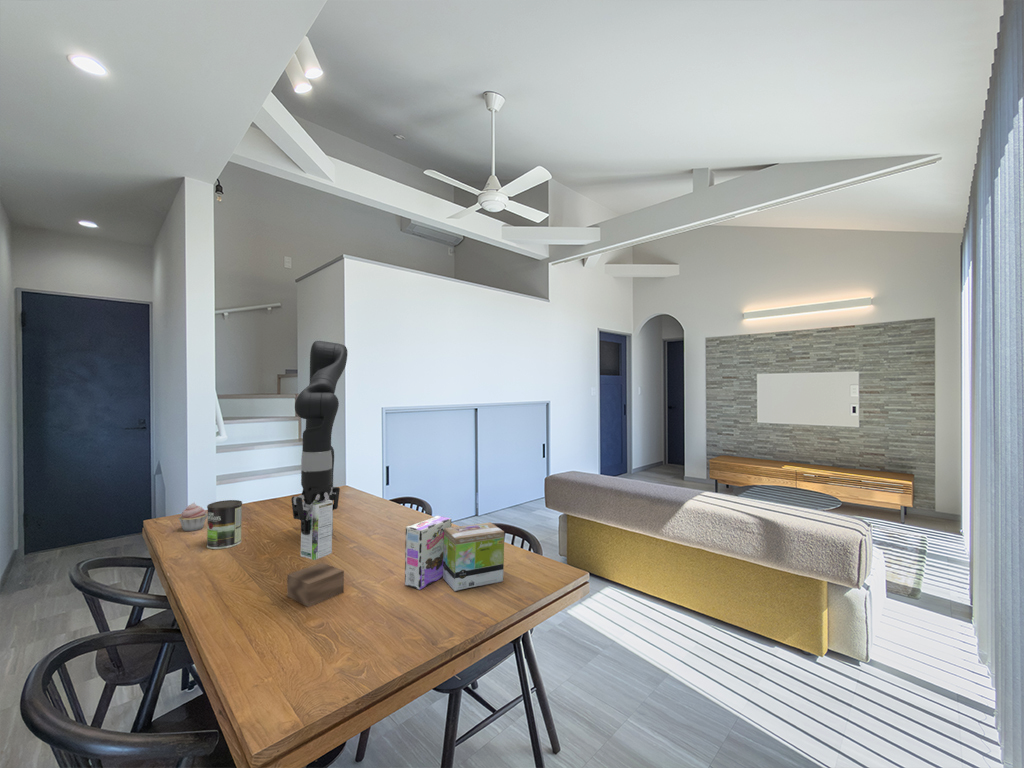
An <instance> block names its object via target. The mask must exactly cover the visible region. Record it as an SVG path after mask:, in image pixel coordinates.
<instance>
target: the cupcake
mask: <svg viewBox="0 0 1024 768" xmlns="http://www.w3.org/2000/svg"><path fill="white" fill-rule="evenodd" d="M206 519H208V513H207V511H206V509H204V508H203V507H202V506H200V505H197V504H196V503H195V502H193V503H190V504H189V505H187V506H186V508H185V509H184V510H183V511H181V515H180V517H178V520H179V522H180V525H181V528H182V531H183V532H195V531H199V530H202V529H203V528H204V525H205V522H206Z"/></svg>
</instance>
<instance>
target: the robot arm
mask: <svg viewBox="0 0 1024 768" xmlns="http://www.w3.org/2000/svg"><path fill="white" fill-rule="evenodd" d="M309 356H310V357H309V385H307V386H306V387H305V388H304V389H303V390H302V391H301V392H300V393H299V394H298V395H297V397H296V399H295V402H294V412H295V413H296V416H298V417H299V418H301V419H303V420H305V429H304V430H303V432H302V452H301V459H300V460H301V464H300V465H301V466H300V471H301V472H300V475H301V477H300V478H301V479H300V481H301V482H300V484H301V487H302V491H301V494H299V495H298V496H294V495H293V496H292V497H291V500H290V501H291V507H292V509H291V510H292V515H293V519H294V520H298V521H299V520H300V534H301V533H302V534H304V535H309V534H310V520H309V519H310V517H311V512H312V510H313V504H314V503H317V502H318V501H323V500H325V501H326V500H333V508H332V536H333V535H334V531H333V530H334V529H333V527H334V524H333V523H334V522H333V521H334V512H333V511H334V510H337V509H338V507H339V499H340V498H339V497H340V491H341V489H340V487H337V486H334V466H335V449H334V447H333V446H332V434H333V427H334V422H335V419H336V415H337V413H338V410H339V406H340V405H339V404H340V403H339V402H340V401H339V399H338V397H337V395H336V394H335V392H336V387H337V383H338V381H339V379H341V376H342V374H343V373H344V371H345V368H346V366H347V361H348V347H346V345H344V344H342V343H339V342H338V343H337V342H331V341H330V342H329V341H325V340H324V341H323V340H315V341H314V342H313V343H312V345H311V347H310V353H309ZM305 503H306V504H307V505H310V504H311V506H310V508H307V507H305ZM306 511H307V514H306Z"/></svg>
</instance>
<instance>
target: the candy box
mask: <svg viewBox="0 0 1024 768" xmlns="http://www.w3.org/2000/svg"><path fill="white" fill-rule="evenodd" d="M451 527H452V518H451V517H446V516H441V515H435V516H433V517H430V518H428V519H424V520H422V521H420V522H416V523H414V524H411V525H407V526H405V542H404V543H405V547H404V548H405V553H404V555H405V556H404V557H405V558H404V585H405V586H407V587H411V588H413V589H417V590H422V589H424V588H426V587H427V586H429V585H431V584H433V583H434V582H437V581H439V580H441V579H443V552H444V529H445V528H451Z"/></svg>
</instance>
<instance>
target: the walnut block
mask: <svg viewBox="0 0 1024 768" xmlns="http://www.w3.org/2000/svg"><path fill="white" fill-rule="evenodd" d="M344 572H345V571H344V570H343V569H340V568H338V567H335V566H332V565H330V564H328V563H325V562H319V563H316V564H313V565H311V566H307V567H305V568H302V569H298V570H295V571H294V572H290V573H287V575H286V576H287V577H286V578H287V580H286V582H287V583H286V584H287V585H286V587H287V588H286V589H287V590H286V591H287V592H286V594H287V595H286V596H287V598H289V599H290V600H293V601H295V602H297V603H299V604H301V605H303V606H304V607H307V608H310V607H313V606H315V605H317V604H319V603H322V602H324V601H327V600H330V599H333V598H334V597H337V596H338V595H342V594H343V593H344V591H345V590H344V589H345V588H344V585H345V583H344V580H345V579H344V578H345V576H344V575H345V573H344Z"/></svg>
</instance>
